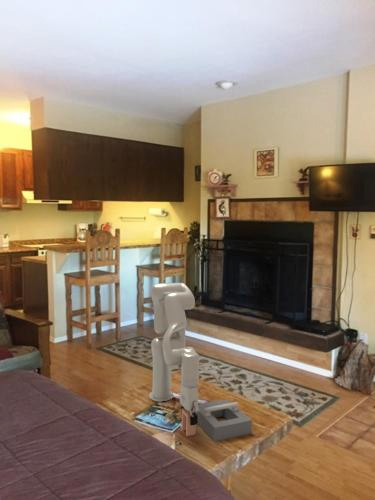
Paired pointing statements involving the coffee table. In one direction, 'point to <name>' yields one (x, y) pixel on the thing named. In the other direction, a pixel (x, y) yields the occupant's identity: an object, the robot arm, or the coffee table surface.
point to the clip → (187, 423)
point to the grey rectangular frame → (224, 429)
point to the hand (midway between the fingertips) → (189, 419)
